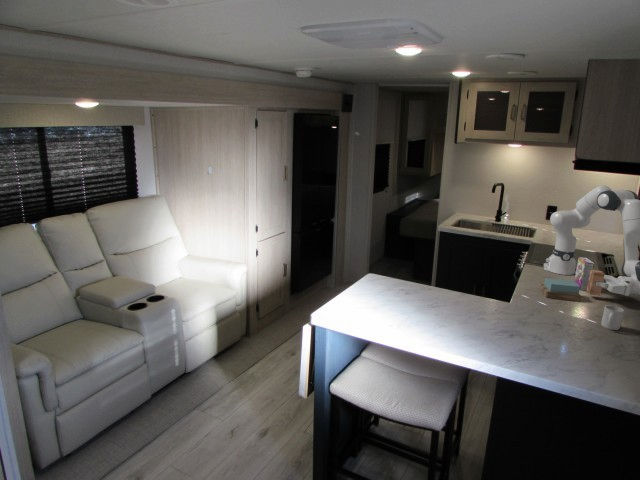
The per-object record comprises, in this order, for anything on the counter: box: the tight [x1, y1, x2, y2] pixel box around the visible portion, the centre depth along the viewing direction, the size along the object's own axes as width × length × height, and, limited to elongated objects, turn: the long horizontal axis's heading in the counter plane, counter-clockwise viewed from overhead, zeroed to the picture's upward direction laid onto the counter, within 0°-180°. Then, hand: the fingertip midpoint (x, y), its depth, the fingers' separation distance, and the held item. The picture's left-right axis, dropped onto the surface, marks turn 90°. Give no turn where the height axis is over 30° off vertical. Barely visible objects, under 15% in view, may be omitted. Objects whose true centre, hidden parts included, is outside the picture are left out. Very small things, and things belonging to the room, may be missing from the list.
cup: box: [600, 304, 625, 331], centre depth 204 cm, size 7×10×9 cm
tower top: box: [543, 277, 581, 294], centre depth 242 cm, size 10×14×4 cm
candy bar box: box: [573, 256, 595, 292], centre depth 256 cm, size 11×5×16 cm, turn 168°
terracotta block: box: [586, 269, 606, 297], centre depth 241 cm, size 5×5×12 cm
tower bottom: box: [540, 283, 582, 303], centre depth 243 cm, size 13×16×4 cm
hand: (593, 281), depth 241 cm, fingers closed on terracotta block, 5 cm apart
